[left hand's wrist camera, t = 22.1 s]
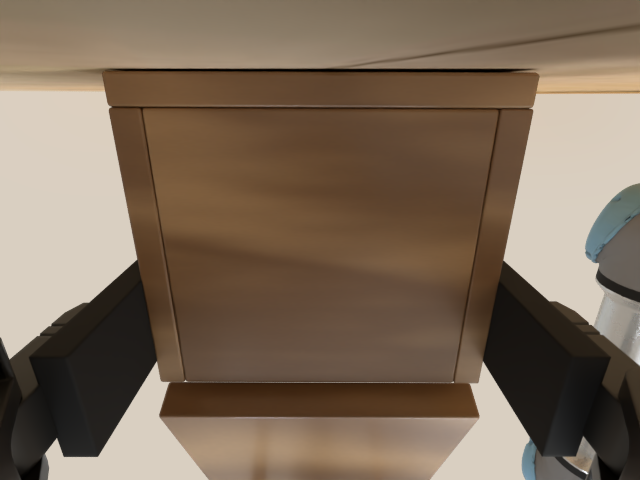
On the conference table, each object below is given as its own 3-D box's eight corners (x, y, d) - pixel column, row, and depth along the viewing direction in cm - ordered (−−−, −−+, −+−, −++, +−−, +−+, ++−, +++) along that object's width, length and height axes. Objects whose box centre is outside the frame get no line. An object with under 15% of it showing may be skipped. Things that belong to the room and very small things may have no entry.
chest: (405, 87, 21) (393, 229, 25) (235, 87, 21) (246, 229, 24) (542, 72, 8) (479, 384, 11) (99, 70, 8) (160, 382, 11)
